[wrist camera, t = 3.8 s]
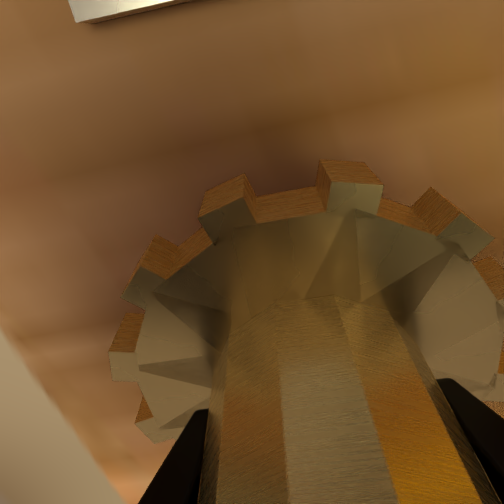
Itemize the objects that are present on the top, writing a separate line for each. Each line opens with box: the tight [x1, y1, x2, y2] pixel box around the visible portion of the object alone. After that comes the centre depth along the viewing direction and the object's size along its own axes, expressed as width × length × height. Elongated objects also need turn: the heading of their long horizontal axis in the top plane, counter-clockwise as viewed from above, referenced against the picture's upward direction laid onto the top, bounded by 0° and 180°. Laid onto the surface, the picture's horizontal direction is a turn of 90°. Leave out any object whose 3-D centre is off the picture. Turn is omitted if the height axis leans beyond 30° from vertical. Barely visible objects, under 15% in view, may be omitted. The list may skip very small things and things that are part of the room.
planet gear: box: [108, 159, 504, 504], centre depth 8 cm, size 10×10×6 cm
